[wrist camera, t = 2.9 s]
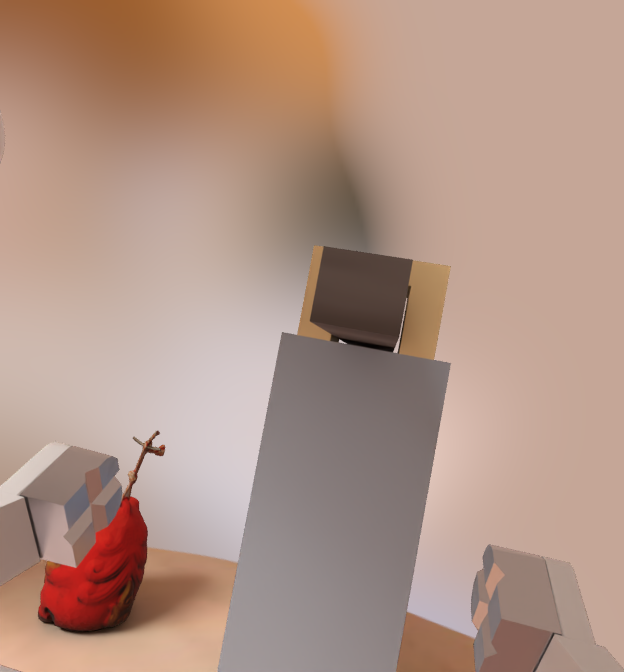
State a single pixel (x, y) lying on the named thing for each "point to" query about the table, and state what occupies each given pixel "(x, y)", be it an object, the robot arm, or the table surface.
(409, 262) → the block
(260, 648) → the post
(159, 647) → the table surface
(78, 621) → the red clay folk toy
